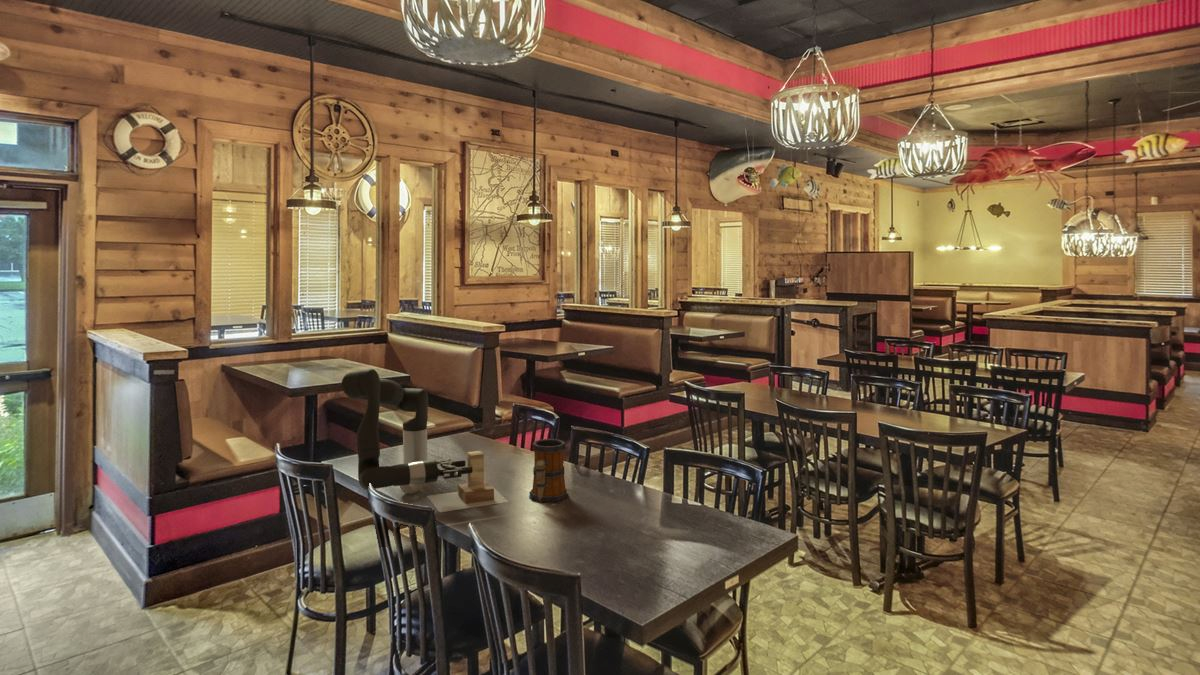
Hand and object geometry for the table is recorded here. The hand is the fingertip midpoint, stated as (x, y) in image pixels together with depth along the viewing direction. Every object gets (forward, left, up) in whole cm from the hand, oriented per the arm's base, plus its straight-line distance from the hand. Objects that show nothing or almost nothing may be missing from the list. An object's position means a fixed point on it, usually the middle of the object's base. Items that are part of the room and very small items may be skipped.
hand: (468, 466), depth 239 cm
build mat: (0, 0, -12) cm, 12 cm away
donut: (-15, -16, -12) cm, 25 cm away
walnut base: (0, +3, -12) cm, 12 cm away
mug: (+12, +25, -12) cm, 30 cm away
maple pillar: (0, +2, -8) cm, 8 cm away
